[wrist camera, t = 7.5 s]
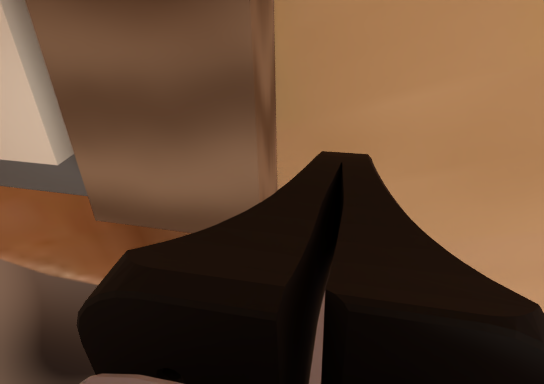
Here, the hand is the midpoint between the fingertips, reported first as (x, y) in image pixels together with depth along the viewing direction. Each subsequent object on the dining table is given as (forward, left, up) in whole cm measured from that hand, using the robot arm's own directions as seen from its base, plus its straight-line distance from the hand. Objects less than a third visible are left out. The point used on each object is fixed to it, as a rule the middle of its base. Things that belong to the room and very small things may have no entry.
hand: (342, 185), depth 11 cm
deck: (-1, +9, -10) cm, 14 cm away
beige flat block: (-1, +20, -8) cm, 22 cm away
